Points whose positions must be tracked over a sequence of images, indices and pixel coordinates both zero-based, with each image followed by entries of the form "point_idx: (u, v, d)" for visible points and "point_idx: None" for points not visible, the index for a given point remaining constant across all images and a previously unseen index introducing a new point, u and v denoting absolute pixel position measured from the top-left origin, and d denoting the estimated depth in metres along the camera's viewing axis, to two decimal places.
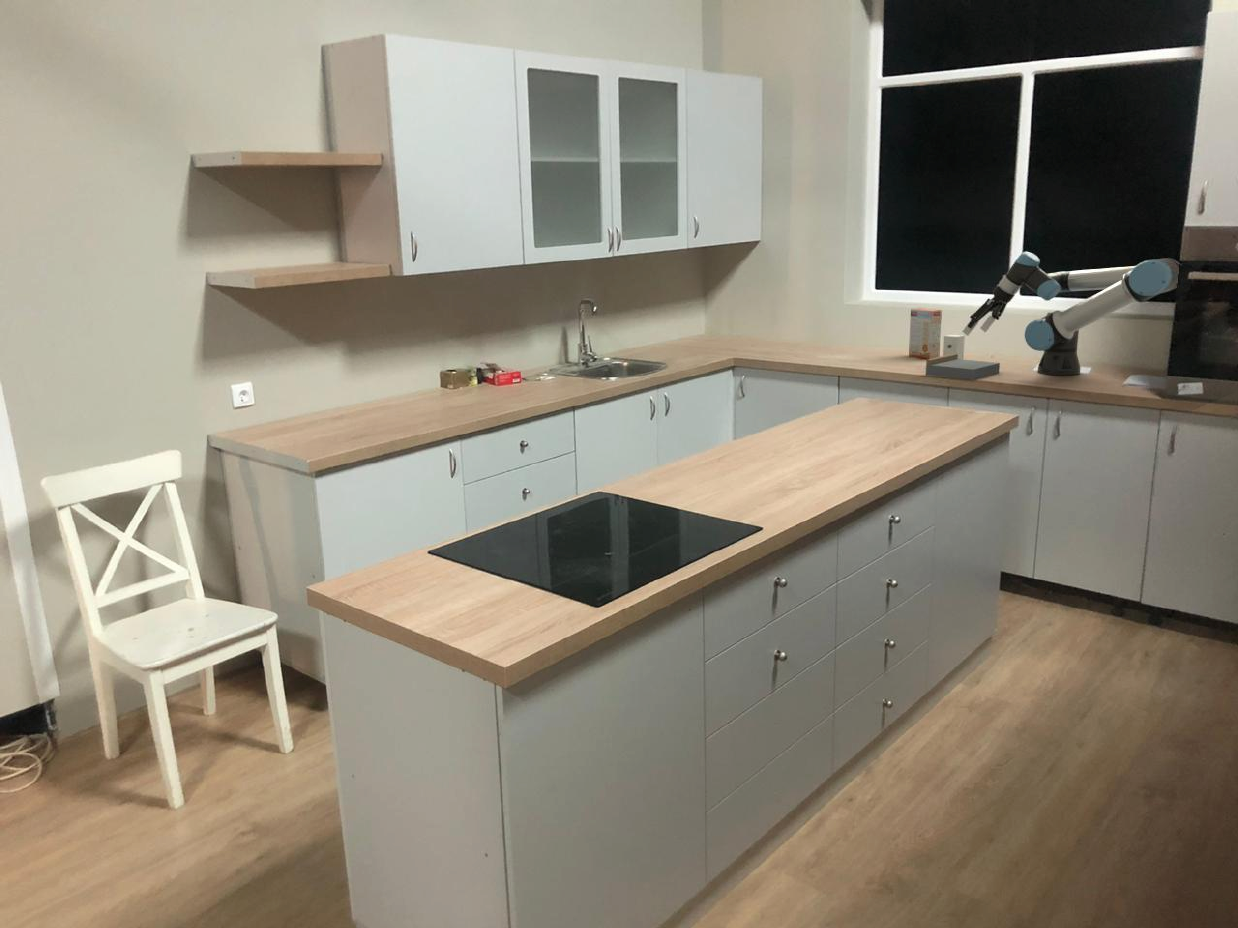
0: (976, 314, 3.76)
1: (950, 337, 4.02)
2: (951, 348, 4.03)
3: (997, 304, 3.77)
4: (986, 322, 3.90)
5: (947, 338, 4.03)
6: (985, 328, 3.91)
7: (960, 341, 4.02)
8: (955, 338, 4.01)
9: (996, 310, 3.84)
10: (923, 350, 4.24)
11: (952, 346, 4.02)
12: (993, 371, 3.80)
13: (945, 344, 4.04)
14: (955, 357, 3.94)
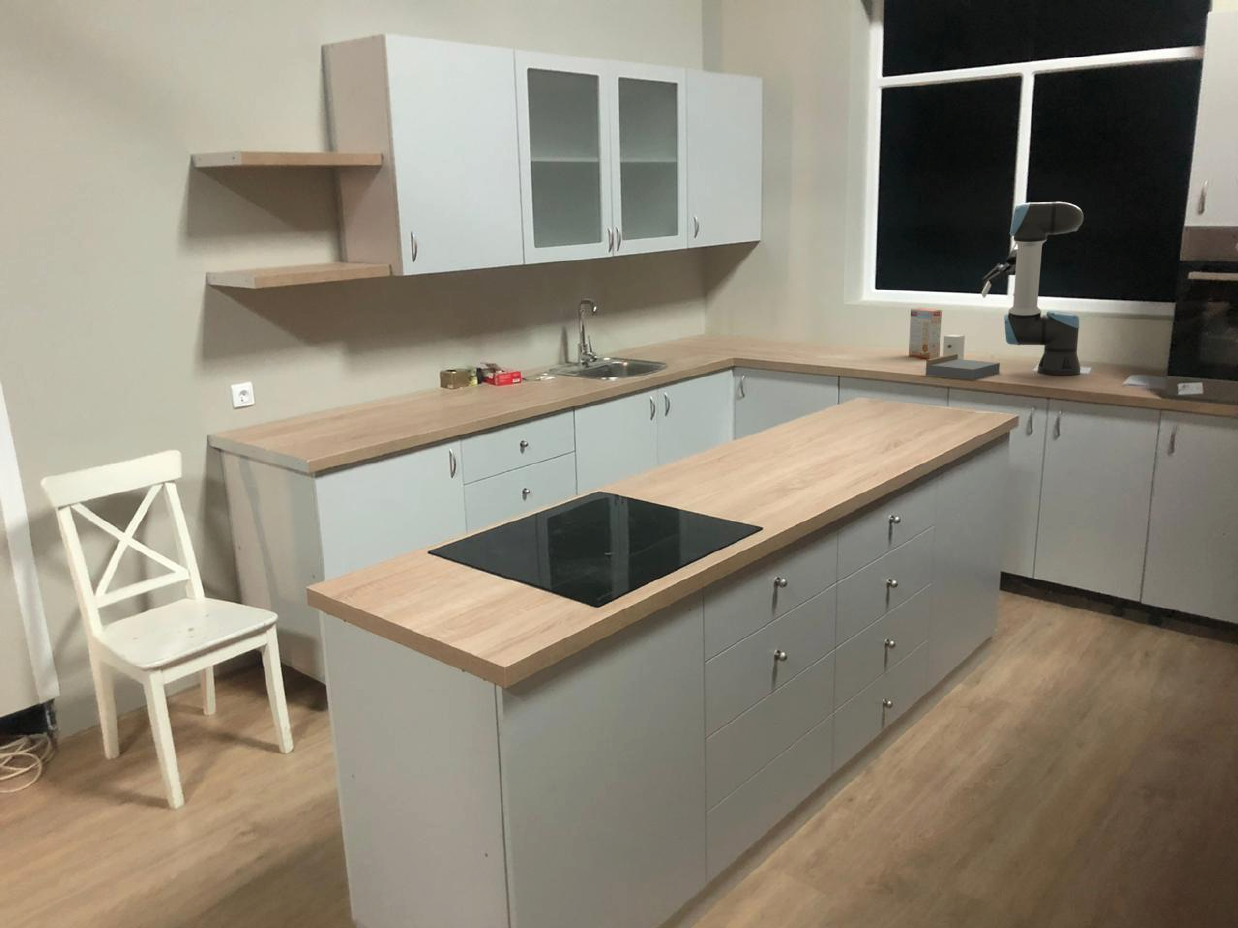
0: None
1: (950, 337, 4.02)
2: (951, 348, 4.03)
3: None
4: None
5: (947, 338, 4.03)
6: None
7: (960, 341, 4.02)
8: (955, 338, 4.01)
9: None
10: (923, 350, 4.24)
11: (952, 346, 4.02)
12: (993, 371, 3.80)
13: (945, 344, 4.04)
14: (955, 357, 3.94)
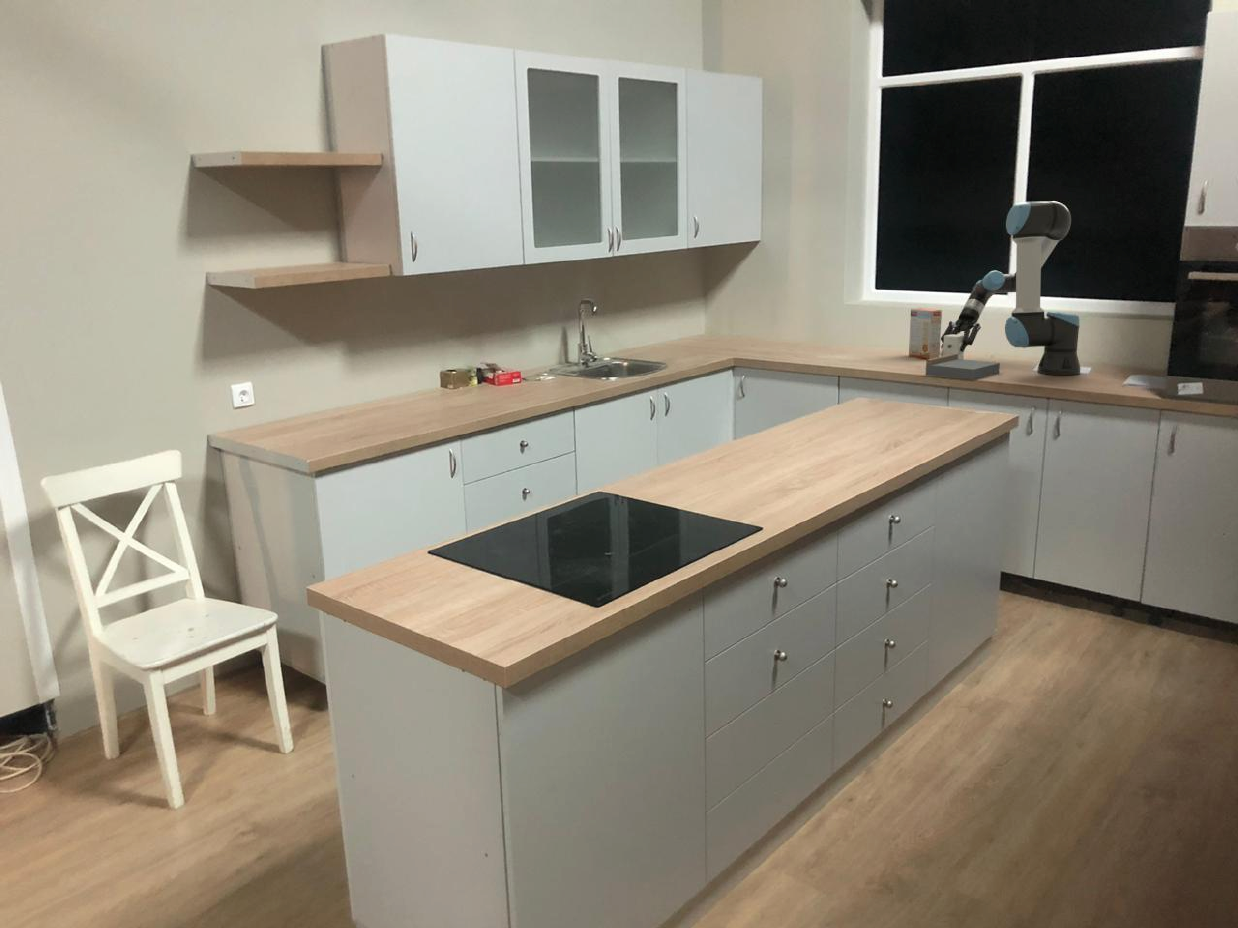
0: None
1: (950, 337, 4.02)
2: (951, 348, 4.03)
3: None
4: None
5: (947, 338, 4.03)
6: None
7: (960, 341, 4.02)
8: (955, 338, 4.01)
9: None
10: (923, 350, 4.24)
11: (952, 346, 4.02)
12: (993, 371, 3.80)
13: (945, 344, 4.04)
14: (955, 357, 3.94)
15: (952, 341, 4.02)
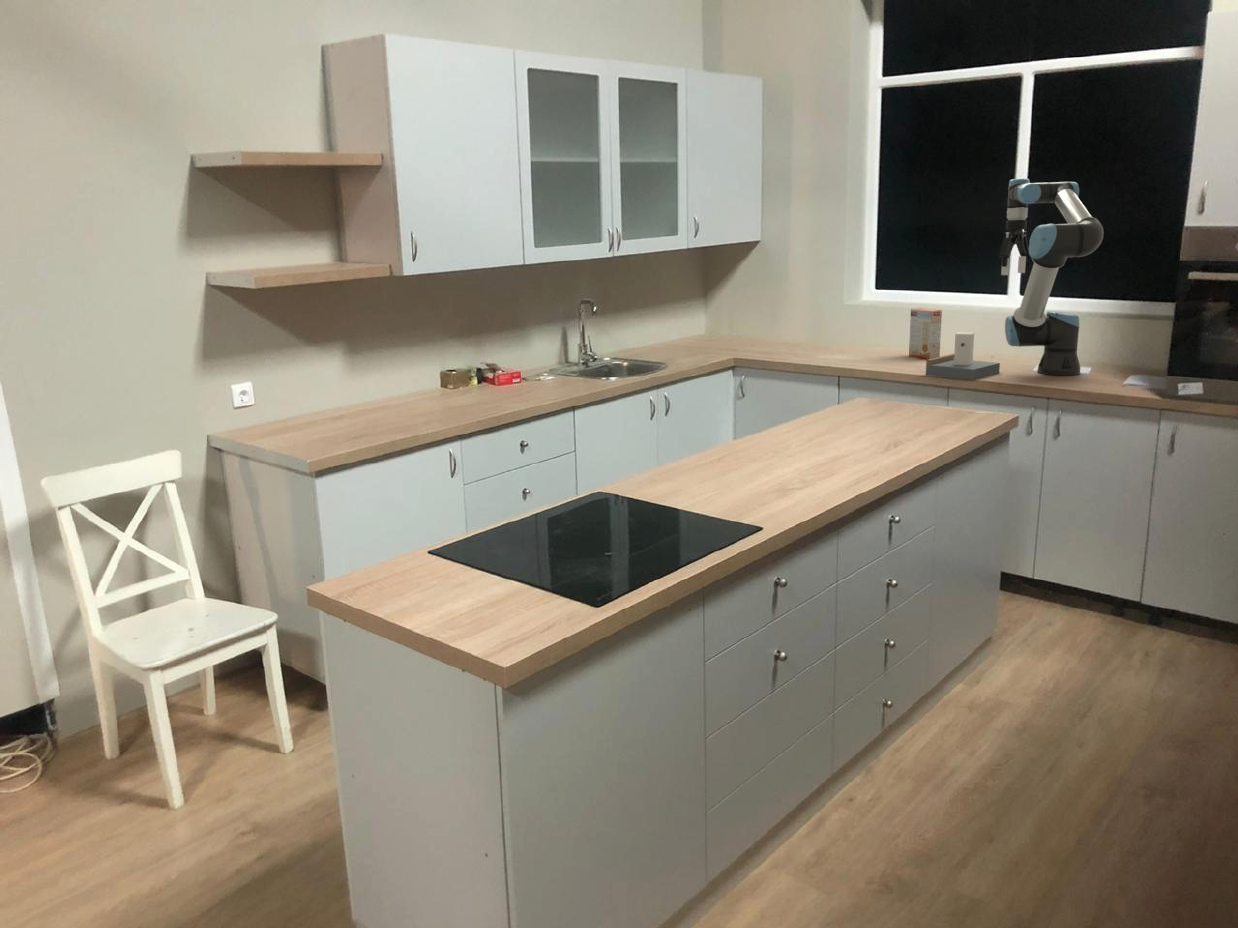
0: (1002, 250, 3.84)
1: (963, 335, 3.77)
2: (964, 346, 3.78)
3: (1016, 235, 3.86)
4: (1019, 264, 3.96)
5: (959, 336, 3.78)
6: (1022, 269, 3.95)
7: (972, 339, 3.79)
8: (969, 336, 3.76)
9: (1020, 246, 3.91)
10: (923, 350, 4.24)
11: (965, 344, 3.78)
12: (993, 371, 3.80)
13: (957, 342, 3.79)
14: None
15: (965, 339, 3.77)
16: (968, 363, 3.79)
